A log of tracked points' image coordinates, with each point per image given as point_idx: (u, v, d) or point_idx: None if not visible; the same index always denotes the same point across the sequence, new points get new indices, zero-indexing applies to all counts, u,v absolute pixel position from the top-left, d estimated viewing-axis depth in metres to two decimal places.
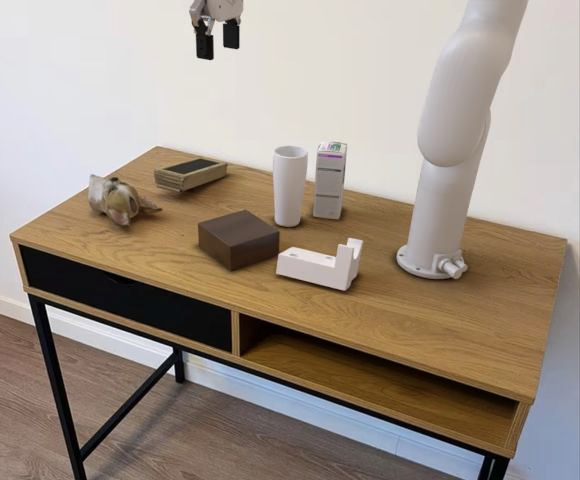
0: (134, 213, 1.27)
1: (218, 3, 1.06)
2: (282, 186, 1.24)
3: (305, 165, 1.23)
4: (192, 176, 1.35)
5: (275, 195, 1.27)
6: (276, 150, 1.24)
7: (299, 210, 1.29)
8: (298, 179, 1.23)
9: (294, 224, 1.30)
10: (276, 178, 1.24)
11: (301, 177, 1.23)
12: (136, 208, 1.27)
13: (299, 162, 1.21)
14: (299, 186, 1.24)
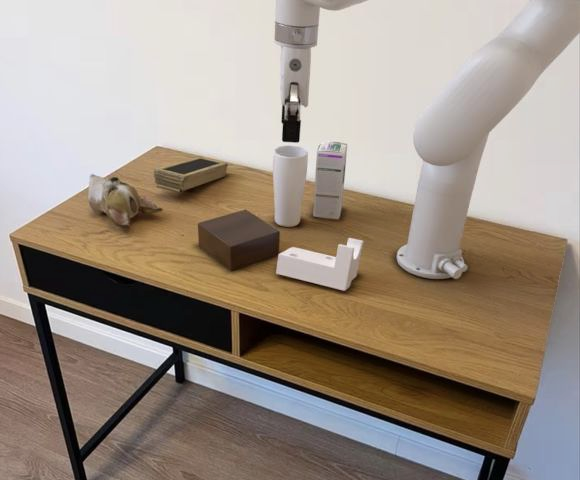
0: (134, 213, 1.27)
1: (308, 91, 1.12)
2: (282, 186, 1.24)
3: (305, 165, 1.23)
4: (192, 176, 1.35)
5: (275, 195, 1.27)
6: (276, 150, 1.24)
7: (299, 210, 1.29)
8: (298, 179, 1.23)
9: (294, 224, 1.30)
10: (276, 178, 1.24)
11: (301, 177, 1.23)
12: (136, 208, 1.27)
13: (299, 162, 1.21)
14: (299, 186, 1.24)
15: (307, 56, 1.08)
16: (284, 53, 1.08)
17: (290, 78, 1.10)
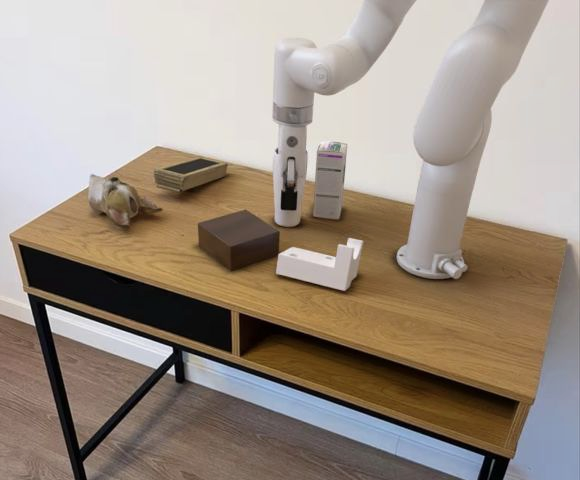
0: (134, 213, 1.27)
1: (304, 164, 1.20)
2: (282, 186, 1.24)
3: (305, 165, 1.23)
4: (192, 176, 1.35)
5: (275, 195, 1.27)
6: (276, 150, 1.24)
7: (299, 210, 1.29)
8: (298, 179, 1.23)
9: (294, 224, 1.30)
10: (276, 178, 1.24)
11: None
12: (136, 208, 1.27)
13: None
14: (299, 186, 1.24)
15: (303, 133, 1.16)
16: (281, 131, 1.16)
17: (287, 156, 1.18)
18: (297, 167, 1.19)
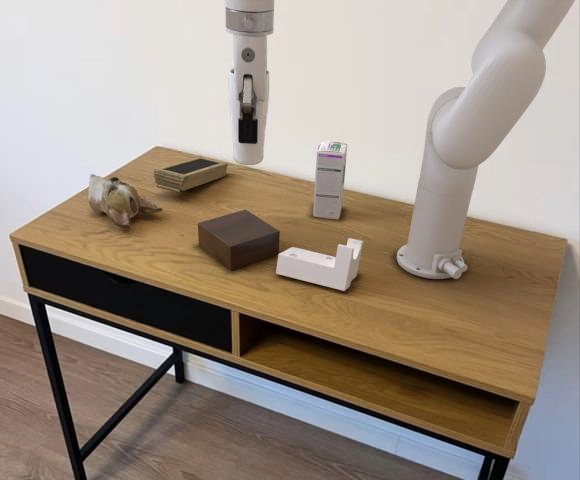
0: (134, 213, 1.27)
1: (264, 84, 1.01)
2: (239, 113, 1.05)
3: (266, 88, 1.04)
4: (192, 176, 1.35)
5: (232, 126, 1.08)
6: (232, 71, 1.05)
7: (261, 145, 1.10)
8: (258, 105, 1.04)
9: (255, 162, 1.11)
10: (232, 104, 1.05)
11: (261, 102, 1.04)
12: (136, 208, 1.27)
13: None
14: (259, 114, 1.05)
15: (261, 45, 0.97)
16: (235, 42, 0.97)
17: (243, 73, 0.99)
18: (255, 87, 1.00)
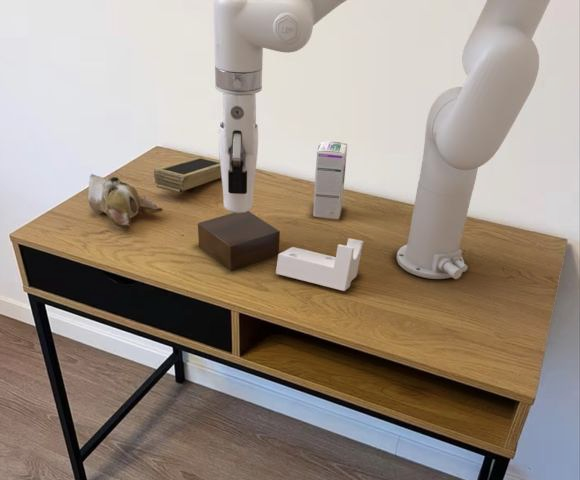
0: (134, 213, 1.27)
1: (253, 139, 1.04)
2: None
3: (255, 141, 1.07)
4: (192, 176, 1.35)
5: (222, 176, 1.11)
6: (222, 124, 1.08)
7: (250, 194, 1.13)
8: (247, 157, 1.07)
9: (245, 210, 1.14)
10: (222, 156, 1.08)
11: None
12: (136, 208, 1.27)
13: None
14: (249, 166, 1.08)
15: (250, 103, 1.00)
16: (225, 100, 1.00)
17: (232, 130, 1.02)
18: (244, 143, 1.03)
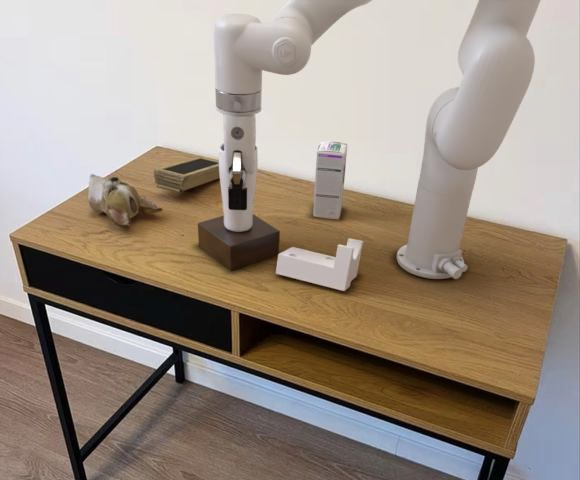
0: (134, 213, 1.27)
1: (253, 159, 1.06)
2: None
3: None
4: (192, 176, 1.35)
5: (223, 196, 1.13)
6: (222, 146, 1.10)
7: (250, 213, 1.15)
8: (247, 178, 1.10)
9: (245, 229, 1.16)
10: (222, 177, 1.10)
11: (250, 176, 1.10)
12: (136, 208, 1.27)
13: None
14: (248, 186, 1.11)
15: (250, 124, 1.02)
16: (225, 121, 1.02)
17: (233, 146, 1.04)
18: (244, 156, 1.05)
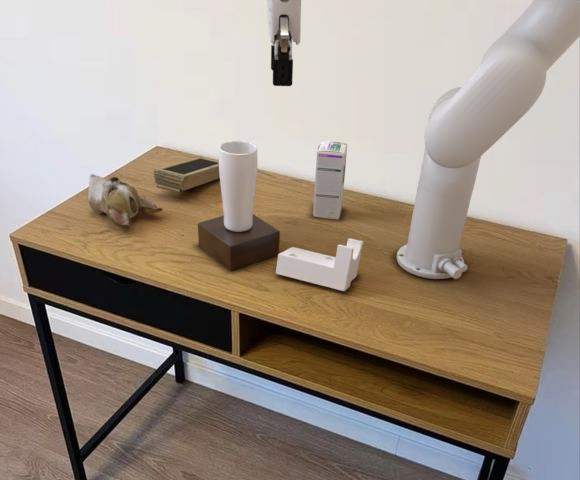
0: (134, 213, 1.27)
1: (300, 25, 1.00)
2: (229, 186, 1.10)
3: (254, 163, 1.09)
4: (192, 176, 1.35)
5: (222, 196, 1.13)
6: (222, 146, 1.10)
7: (250, 213, 1.15)
8: (247, 178, 1.10)
9: (245, 229, 1.16)
10: (222, 177, 1.10)
11: (250, 176, 1.10)
12: (136, 208, 1.27)
13: (247, 160, 1.08)
14: (248, 186, 1.11)
15: None
16: None
17: (279, 10, 0.98)
18: (291, 21, 0.99)
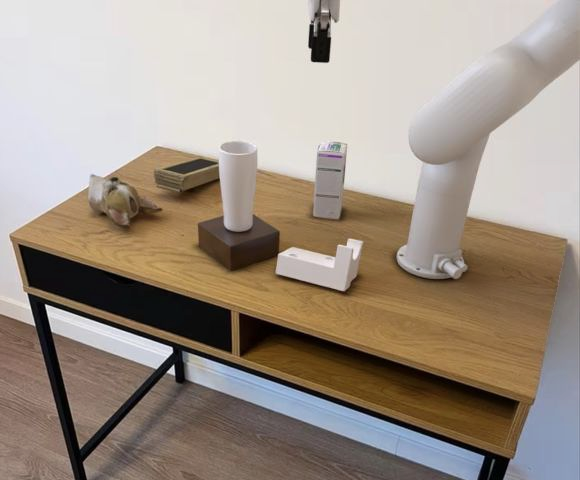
0: (134, 213, 1.27)
1: (339, 4, 1.04)
2: (229, 186, 1.10)
3: (254, 163, 1.09)
4: (192, 176, 1.35)
5: (222, 196, 1.13)
6: (222, 146, 1.10)
7: (250, 213, 1.15)
8: (247, 178, 1.10)
9: (245, 229, 1.16)
10: (222, 177, 1.10)
11: (250, 176, 1.10)
12: (136, 208, 1.27)
13: (247, 160, 1.08)
14: (248, 186, 1.11)
15: None
16: None
17: None
18: None
